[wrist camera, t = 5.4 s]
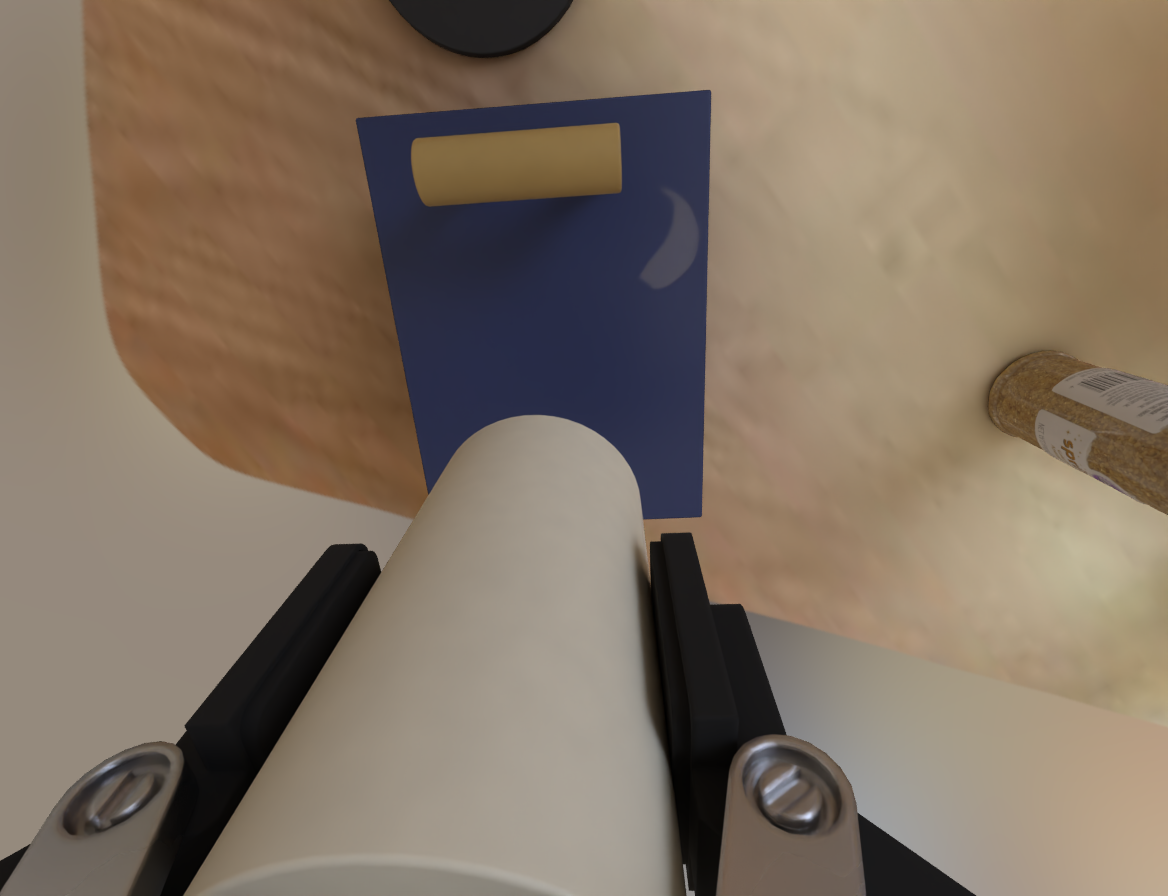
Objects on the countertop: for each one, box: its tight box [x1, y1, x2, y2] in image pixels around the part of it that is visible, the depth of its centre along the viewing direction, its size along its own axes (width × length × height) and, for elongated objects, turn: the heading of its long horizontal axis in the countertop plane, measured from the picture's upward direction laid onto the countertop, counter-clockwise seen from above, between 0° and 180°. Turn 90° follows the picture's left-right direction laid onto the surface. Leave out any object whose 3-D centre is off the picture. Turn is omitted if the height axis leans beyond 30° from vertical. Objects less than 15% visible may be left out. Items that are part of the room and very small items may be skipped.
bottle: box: [183, 415, 686, 896], centre depth 8 cm, size 5×5×13 cm
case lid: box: [356, 90, 711, 519], centre depth 18 cm, size 15×11×5 cm
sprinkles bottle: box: [988, 351, 1168, 515], centre depth 22 cm, size 5×5×13 cm
